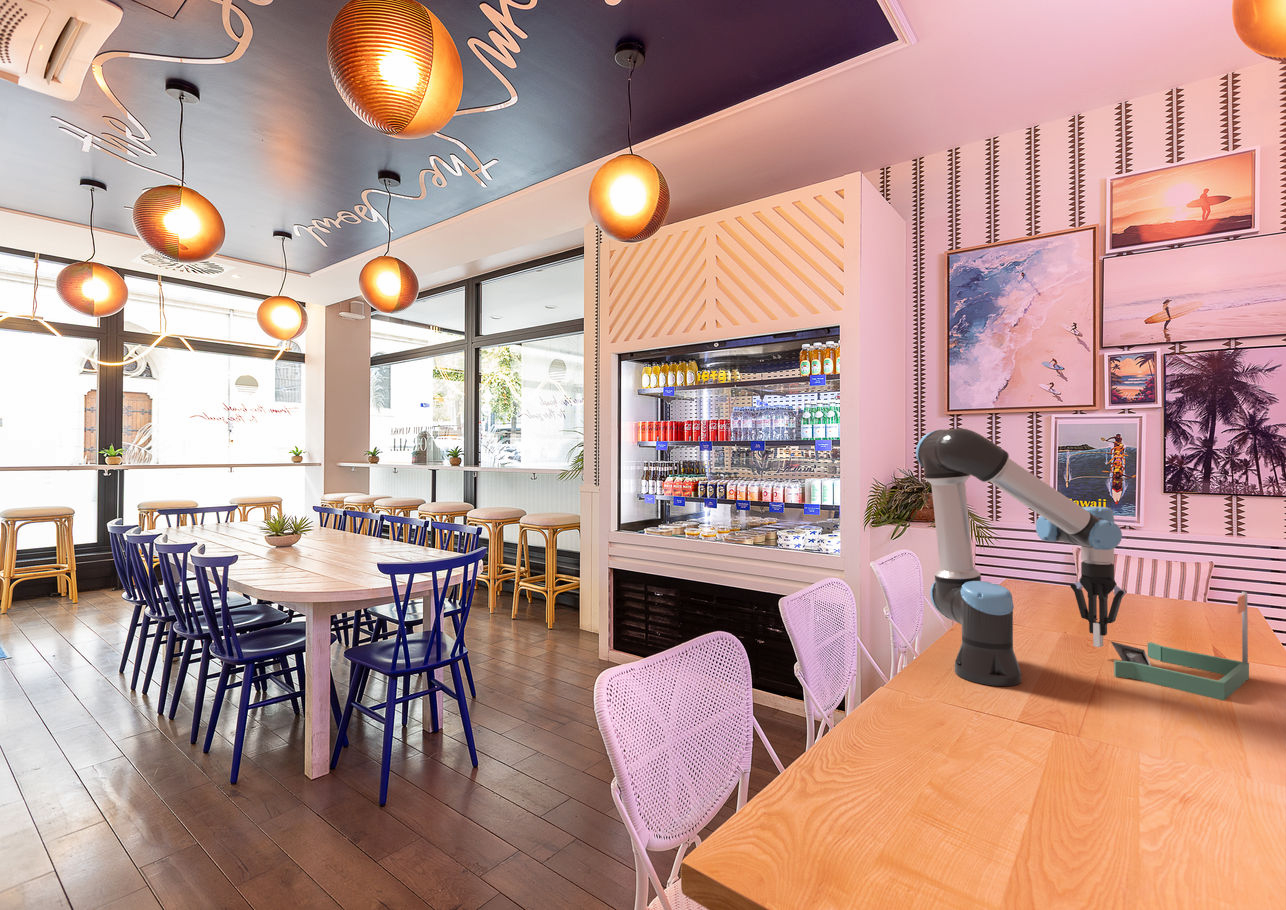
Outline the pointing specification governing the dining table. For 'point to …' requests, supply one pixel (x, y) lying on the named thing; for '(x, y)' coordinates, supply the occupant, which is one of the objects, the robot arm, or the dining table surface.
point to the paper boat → (1131, 654)
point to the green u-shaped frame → (1193, 666)
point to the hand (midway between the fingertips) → (1098, 645)
